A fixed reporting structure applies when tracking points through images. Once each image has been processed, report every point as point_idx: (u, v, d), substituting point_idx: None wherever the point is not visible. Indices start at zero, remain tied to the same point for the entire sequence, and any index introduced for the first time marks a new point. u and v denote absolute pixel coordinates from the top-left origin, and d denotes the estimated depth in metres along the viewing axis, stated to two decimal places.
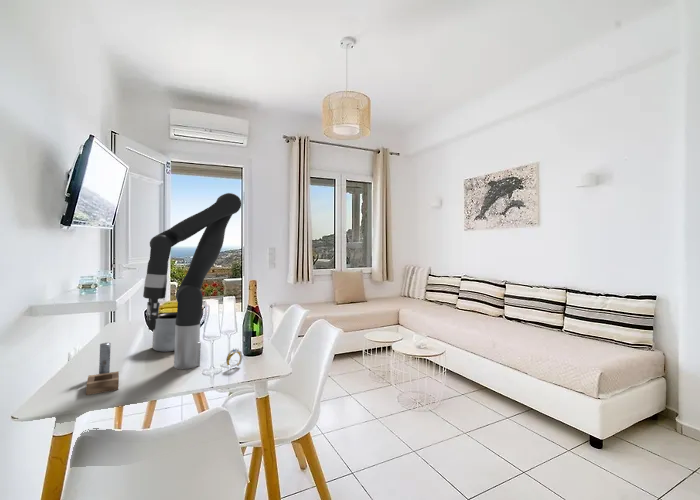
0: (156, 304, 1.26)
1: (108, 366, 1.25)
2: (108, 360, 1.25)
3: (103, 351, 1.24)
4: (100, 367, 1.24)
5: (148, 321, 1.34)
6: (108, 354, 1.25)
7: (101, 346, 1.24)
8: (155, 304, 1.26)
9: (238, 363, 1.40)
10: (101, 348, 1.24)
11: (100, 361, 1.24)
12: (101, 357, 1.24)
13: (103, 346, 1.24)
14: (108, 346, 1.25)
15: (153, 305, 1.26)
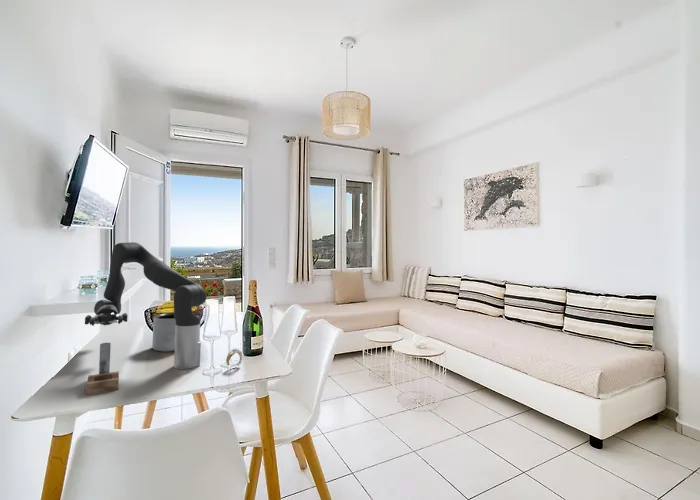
0: None
1: (108, 366, 1.25)
2: (108, 360, 1.25)
3: (103, 351, 1.24)
4: (100, 367, 1.24)
5: (118, 322, 1.38)
6: (108, 354, 1.25)
7: (101, 346, 1.24)
8: None
9: (238, 363, 1.40)
10: (101, 348, 1.24)
11: (100, 361, 1.24)
12: (101, 357, 1.24)
13: (103, 346, 1.24)
14: (108, 346, 1.25)
15: None
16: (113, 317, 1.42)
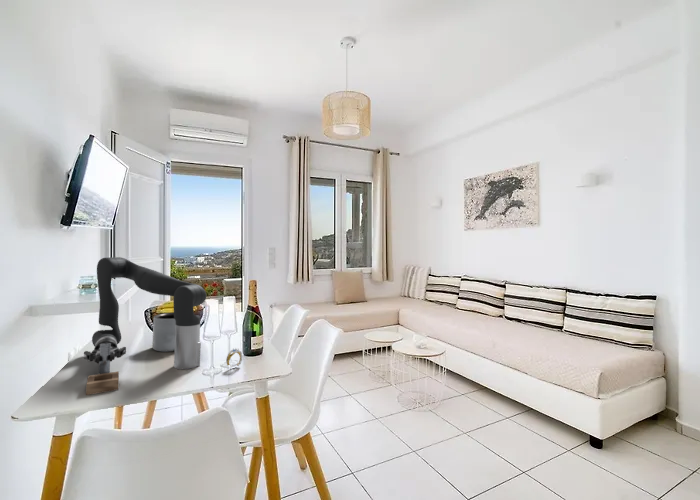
0: (84, 354, 1.27)
1: (108, 366, 1.25)
2: (108, 360, 1.25)
3: (103, 351, 1.24)
4: (100, 367, 1.24)
5: None
6: (108, 354, 1.25)
7: (101, 346, 1.24)
8: (84, 354, 1.27)
9: (238, 363, 1.40)
10: (101, 348, 1.24)
11: (100, 361, 1.24)
12: (101, 357, 1.24)
13: (103, 346, 1.24)
14: (108, 346, 1.25)
15: (84, 356, 1.26)
16: None
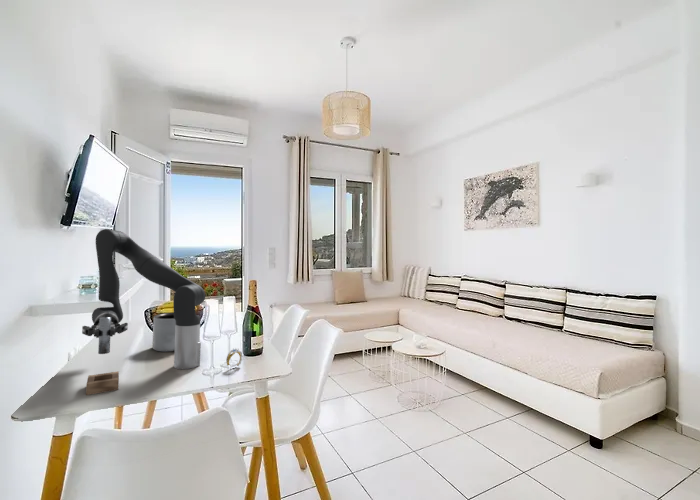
0: (82, 328, 1.17)
1: (108, 341, 1.15)
2: (108, 335, 1.15)
3: (103, 325, 1.14)
4: (100, 342, 1.14)
5: (110, 334, 1.15)
6: (108, 329, 1.15)
7: (101, 320, 1.14)
8: (82, 329, 1.17)
9: (238, 363, 1.40)
10: (101, 322, 1.14)
11: (100, 336, 1.14)
12: (101, 332, 1.14)
13: (103, 320, 1.14)
14: (108, 320, 1.15)
15: (82, 331, 1.17)
16: None
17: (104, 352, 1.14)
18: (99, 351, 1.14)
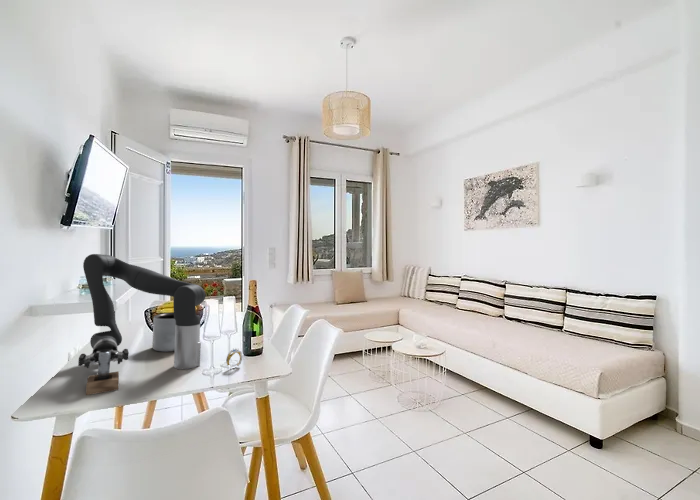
0: None
1: (107, 376, 1.15)
2: (107, 370, 1.15)
3: (102, 360, 1.14)
4: (99, 378, 1.14)
5: None
6: (108, 364, 1.15)
7: (100, 355, 1.14)
8: None
9: (238, 363, 1.40)
10: (100, 357, 1.14)
11: (99, 372, 1.14)
12: (100, 367, 1.14)
13: (102, 355, 1.14)
14: (108, 355, 1.15)
15: None
16: (112, 355, 1.20)
17: None
18: None
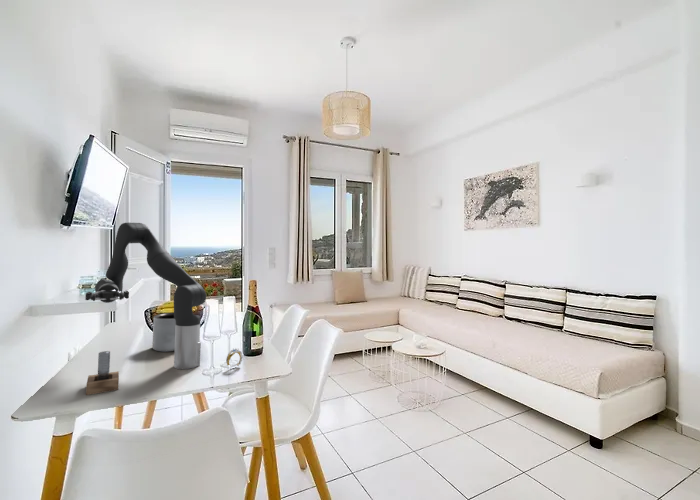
0: None
1: (107, 376, 1.15)
2: (107, 370, 1.15)
3: (102, 360, 1.14)
4: (99, 378, 1.14)
5: (119, 298, 1.35)
6: (107, 364, 1.15)
7: (100, 355, 1.14)
8: None
9: (238, 363, 1.40)
10: (100, 357, 1.14)
11: (99, 372, 1.14)
12: (100, 367, 1.14)
13: (102, 355, 1.14)
14: (107, 355, 1.15)
15: None
16: (114, 294, 1.39)
17: None
18: None
